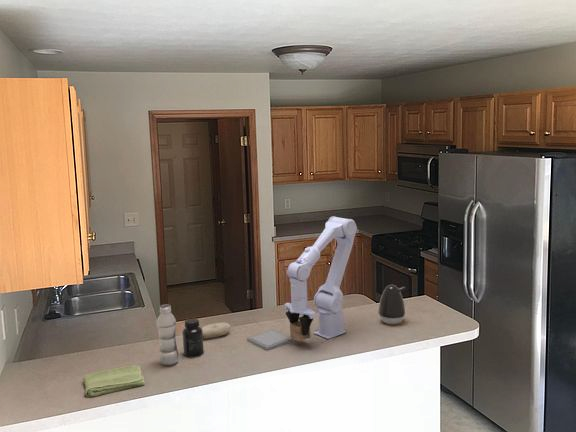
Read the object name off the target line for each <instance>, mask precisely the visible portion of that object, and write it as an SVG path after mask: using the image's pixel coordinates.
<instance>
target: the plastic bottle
mask: <svg viewBox="0 0 576 432" xmlns="http://www.w3.org/2000/svg"><path fill="white" fill-rule="evenodd" d="M176 324H177V320H176V317H175V316H174V314H173V313H172V307H171V304H167V303H166V304H161V305H160V306H159V315H158V317H157V319H156V326H157V332H158V338H159V352H158V358H159V363H160V364H162V365H163V366H172V365H174V364H176V363H178V361H179V357H180V356H179V355H180V354H179V350H178V346H177V339H176V338H177V337H176V328H177V325H176Z"/></svg>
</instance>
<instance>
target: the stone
mask: <svg viewBox="0 0 576 432" xmlns="http://www.w3.org/2000/svg"><path fill="white" fill-rule="evenodd" d="M201 328H202V332H203V339H214V338H218V337H221V336H225V335H226V334H228V332H230V331H231V328H232V326H231V325H230V324H229V323H227V322H216V323H210V324H206V325H205V326H202V327H201Z"/></svg>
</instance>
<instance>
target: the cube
mask: <svg viewBox="0 0 576 432" xmlns="http://www.w3.org/2000/svg"><path fill="white" fill-rule="evenodd" d="M289 327H290V328H289V331H290V336H289V337H291V338H293V340H295V341H297V342H301V341H305V340H307V339H309V338H311V328H310V329H309V333H308V335H305V336H304V335H303V334H302V326H301V322H300V320H299V321H297V322H294V323H292V324H290V323H289Z"/></svg>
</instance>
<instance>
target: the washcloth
mask: <svg viewBox="0 0 576 432" xmlns="http://www.w3.org/2000/svg"><path fill="white" fill-rule="evenodd" d="M82 381H83V384H84V387H85V389H84V391H85V392H84V394H85V396H86V397H88V398H93V397H98V396H103V395H107V394H112V393H113V394H114V393H116V392H119V391H124V390H128V389H131V388H134V387H135V388H136V387H141V386H143V385H145V380H144V374H143V373H142V370H141V366H140V365H138V364H134V365H133V364H132V365H123V366H121V367H120V366H119V367H117V368H115V367H114V368H111V369H107V370H99V371H95V372H91V373H90V372H89V373H88V374H86V375H84V376H83V378H82Z"/></svg>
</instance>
